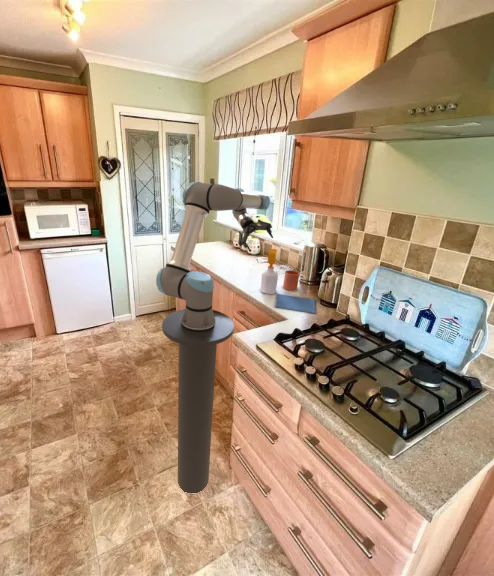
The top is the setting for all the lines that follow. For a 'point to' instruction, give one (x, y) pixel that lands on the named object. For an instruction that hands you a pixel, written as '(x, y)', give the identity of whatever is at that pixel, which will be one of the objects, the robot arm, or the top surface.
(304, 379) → the top surface
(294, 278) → the terracotta cup
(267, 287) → the soap bottle
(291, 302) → the blue mat
